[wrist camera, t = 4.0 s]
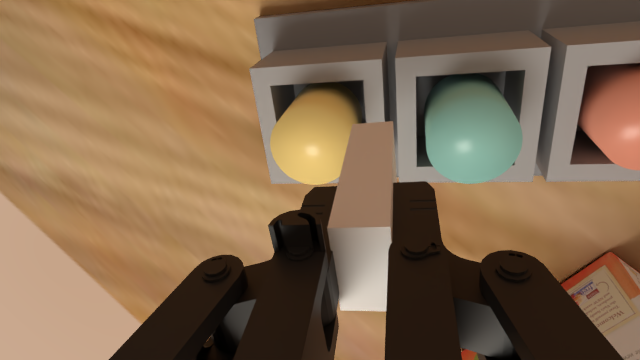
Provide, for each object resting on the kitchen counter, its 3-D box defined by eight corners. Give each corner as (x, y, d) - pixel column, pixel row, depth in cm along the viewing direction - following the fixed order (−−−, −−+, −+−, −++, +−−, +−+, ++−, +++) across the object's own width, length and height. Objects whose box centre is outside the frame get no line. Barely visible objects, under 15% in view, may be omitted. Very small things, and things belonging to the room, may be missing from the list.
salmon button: (562, 133, 22) (592, 170, 18) (574, 59, 20) (610, 84, 16) (645, 130, 21) (695, 169, 17) (666, 53, 19) (726, 78, 16)
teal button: (424, 145, 22) (425, 184, 19) (424, 74, 21) (426, 102, 17) (499, 142, 22) (517, 183, 18) (506, 69, 20) (527, 97, 16)
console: (286, 171, 29) (263, 210, 24) (259, 16, 24) (226, 31, 20) (657, 166, 24) (710, 214, 19) (713, -30, 19) (800, -24, 15)
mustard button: (298, 148, 24) (277, 184, 20) (288, 83, 22) (263, 110, 19) (364, 146, 23) (355, 184, 20) (359, 78, 21) (348, 106, 18)
